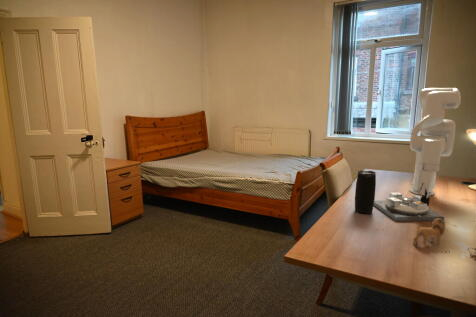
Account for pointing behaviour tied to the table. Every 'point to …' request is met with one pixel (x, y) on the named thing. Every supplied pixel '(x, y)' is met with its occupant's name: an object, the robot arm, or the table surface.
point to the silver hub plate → (406, 204)
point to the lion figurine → (431, 232)
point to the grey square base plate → (407, 217)
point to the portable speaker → (365, 191)
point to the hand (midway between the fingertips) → (424, 205)
